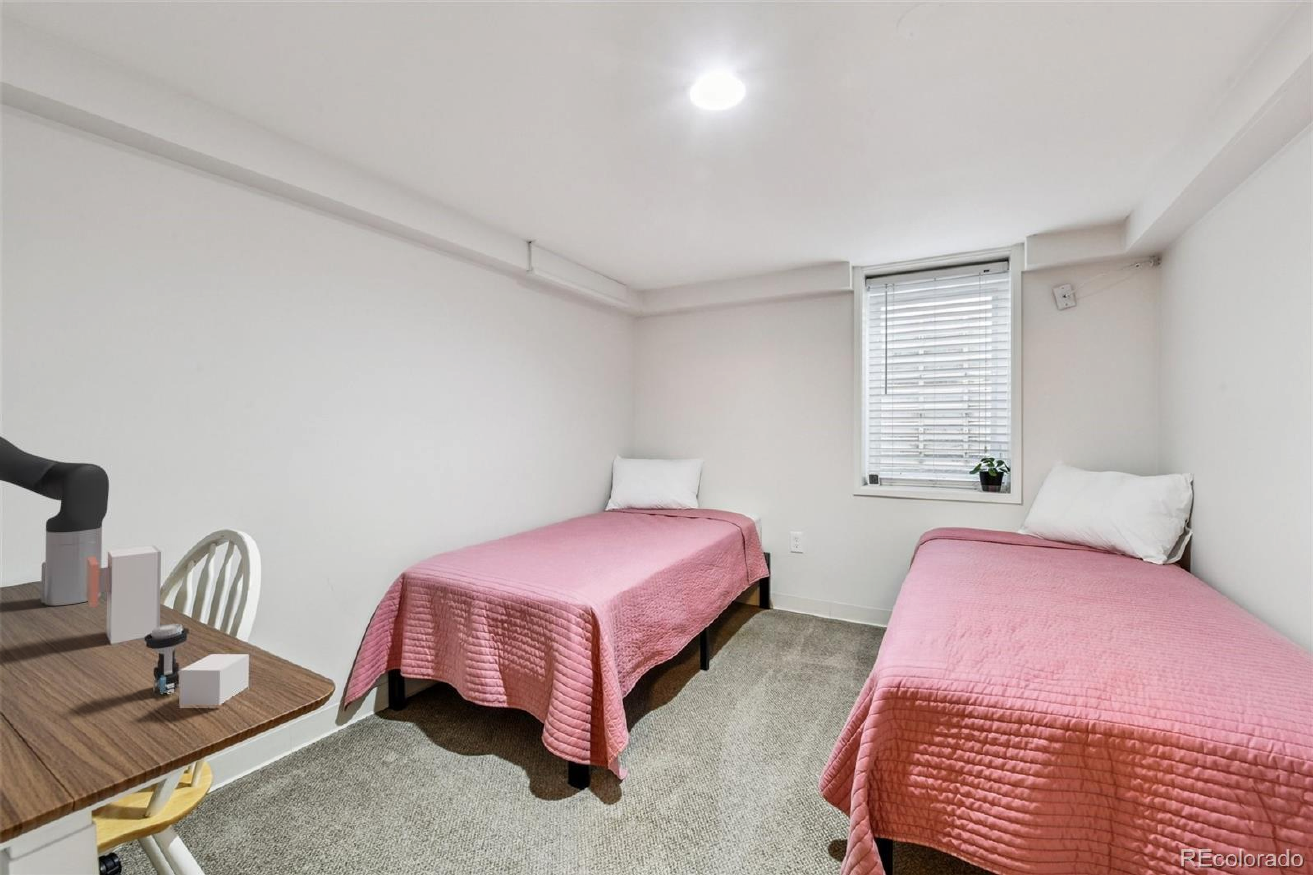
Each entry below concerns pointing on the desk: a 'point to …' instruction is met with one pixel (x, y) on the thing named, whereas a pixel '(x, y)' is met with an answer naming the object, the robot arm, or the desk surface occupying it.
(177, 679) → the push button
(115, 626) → the socket block
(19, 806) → the desk surface
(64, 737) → the desk surface
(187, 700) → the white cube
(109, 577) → the plug
